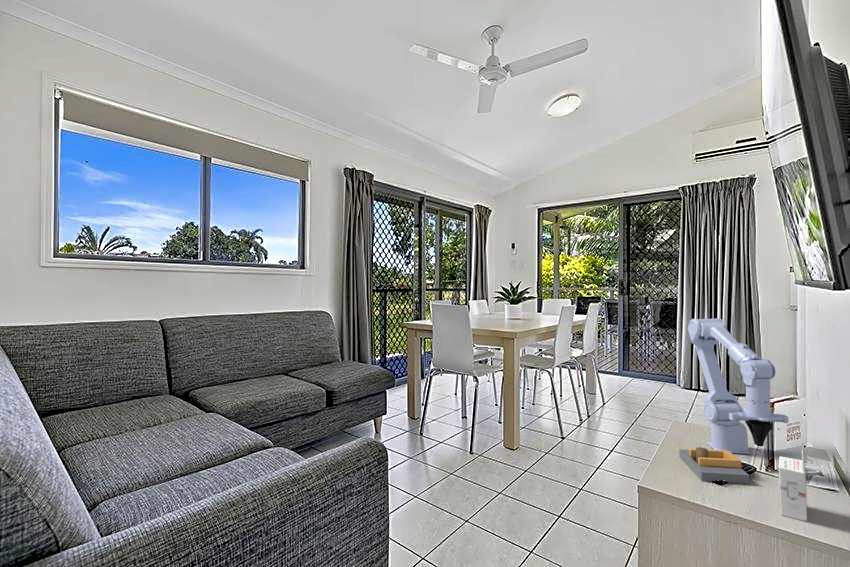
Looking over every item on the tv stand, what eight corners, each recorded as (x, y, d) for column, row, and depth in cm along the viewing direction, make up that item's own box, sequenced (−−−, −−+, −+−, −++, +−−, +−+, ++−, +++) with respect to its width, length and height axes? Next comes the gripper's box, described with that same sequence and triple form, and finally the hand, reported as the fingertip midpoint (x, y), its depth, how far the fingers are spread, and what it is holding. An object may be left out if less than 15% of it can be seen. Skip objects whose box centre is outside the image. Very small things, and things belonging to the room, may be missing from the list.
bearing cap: (728, 457, 126) (728, 450, 126) (741, 467, 119) (741, 460, 119) (689, 455, 129) (689, 448, 129) (699, 465, 122) (699, 458, 122)
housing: (721, 459, 131) (720, 451, 131) (749, 484, 115) (749, 475, 115) (679, 457, 133) (679, 449, 133) (701, 480, 118) (701, 472, 118)
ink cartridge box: (779, 500, 107) (778, 443, 106) (805, 506, 103) (804, 448, 103) (779, 515, 100) (778, 455, 100) (807, 522, 97) (806, 460, 97)
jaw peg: (695, 466, 127) (695, 446, 127) (707, 467, 125) (706, 448, 125) (697, 470, 124) (696, 450, 124) (709, 472, 123) (708, 452, 123)
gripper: (737, 403, 121) (737, 449, 121) (795, 405, 118) (795, 452, 118) (725, 396, 128) (726, 439, 128) (779, 397, 124) (780, 442, 125)
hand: (758, 445), depth 123 cm, fingers closed
